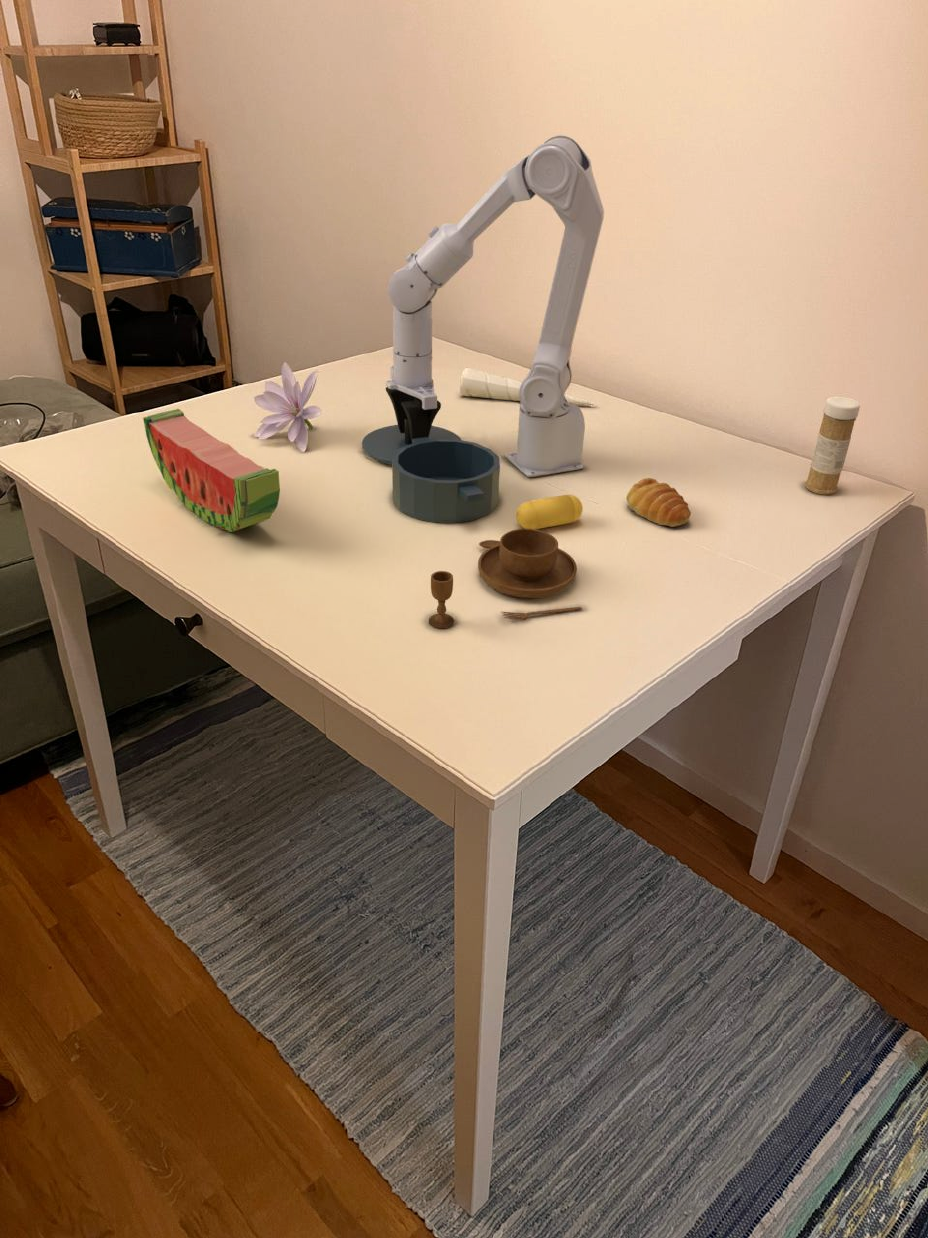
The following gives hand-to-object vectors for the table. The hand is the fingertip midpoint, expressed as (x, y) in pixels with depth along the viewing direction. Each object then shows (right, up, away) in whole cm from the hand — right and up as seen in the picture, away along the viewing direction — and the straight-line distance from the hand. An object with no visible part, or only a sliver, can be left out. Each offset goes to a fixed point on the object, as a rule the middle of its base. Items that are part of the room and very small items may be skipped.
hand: (412, 438), depth 144 cm
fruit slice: (-25, -14, -18) cm, 34 cm away
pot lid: (0, -1, +1) cm, 1 cm away
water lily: (-20, +1, +4) cm, 20 cm away
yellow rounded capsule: (+19, -15, -19) cm, 31 cm away
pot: (+5, -11, -13) cm, 18 cm away
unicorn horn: (+18, +11, +21) cm, 30 cm away
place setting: (+12, -24, -32) cm, 41 cm away
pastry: (+35, -13, -15) cm, 40 cm away
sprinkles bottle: (+60, -9, -7) cm, 61 cm away
